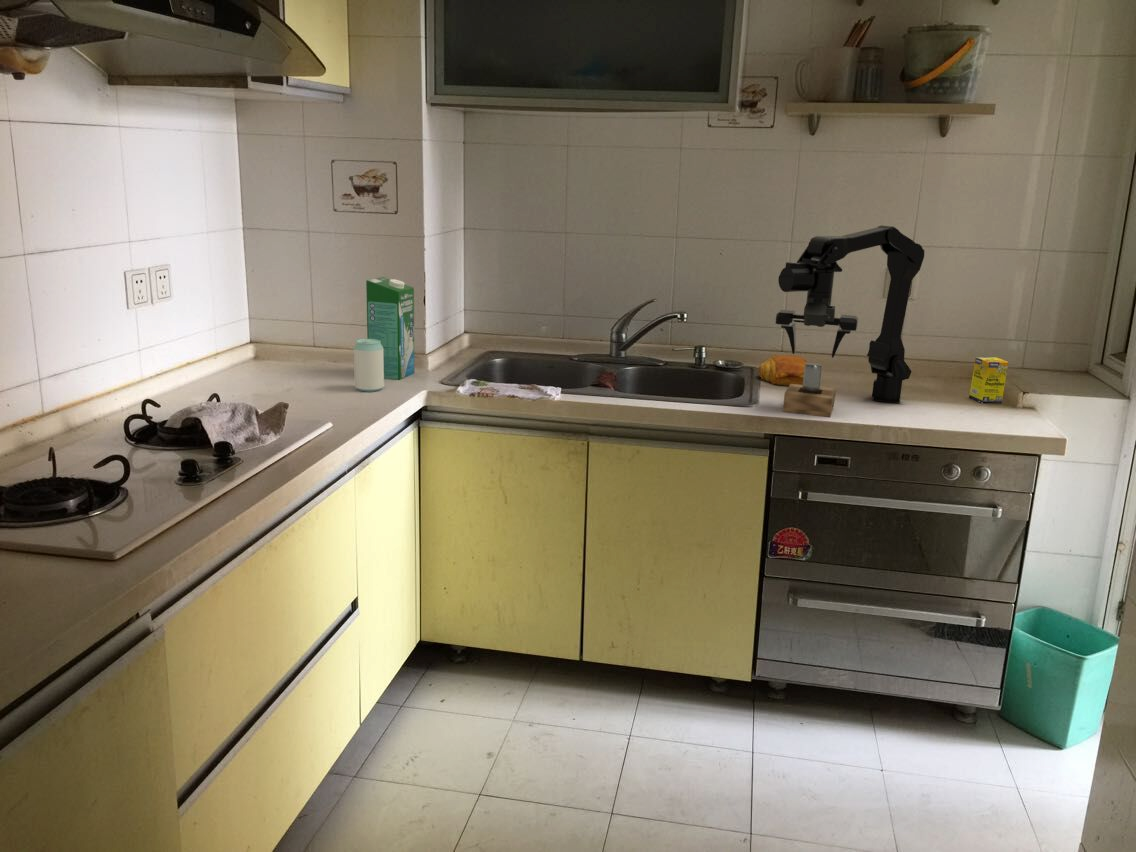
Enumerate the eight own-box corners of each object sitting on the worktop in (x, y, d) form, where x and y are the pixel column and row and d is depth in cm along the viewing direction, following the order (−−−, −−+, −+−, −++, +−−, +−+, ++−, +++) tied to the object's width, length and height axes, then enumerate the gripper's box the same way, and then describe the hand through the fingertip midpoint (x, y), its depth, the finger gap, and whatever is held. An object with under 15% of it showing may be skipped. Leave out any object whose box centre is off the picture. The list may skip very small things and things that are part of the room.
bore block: (833, 406, 236) (835, 388, 235) (829, 417, 226) (832, 398, 225) (788, 401, 239) (790, 383, 238) (782, 411, 229) (784, 393, 228)
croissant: (758, 381, 270) (757, 353, 268) (815, 377, 267) (814, 349, 265) (759, 391, 256) (758, 362, 254) (819, 388, 253) (818, 358, 252)
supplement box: (981, 403, 245) (988, 361, 242) (968, 397, 250) (974, 356, 247) (1002, 403, 246) (1009, 361, 243) (989, 397, 251) (995, 356, 248)
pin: (818, 403, 233) (822, 363, 231) (816, 407, 230) (821, 367, 227) (801, 402, 235) (806, 362, 232) (799, 405, 231) (804, 365, 228)
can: (379, 393, 232) (379, 344, 229) (351, 391, 232) (350, 342, 229) (387, 386, 239) (386, 338, 235) (359, 384, 239) (358, 337, 236)
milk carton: (399, 380, 246) (398, 282, 239) (367, 376, 248) (365, 279, 241) (414, 372, 254) (414, 278, 247) (383, 369, 256) (382, 275, 249)
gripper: (775, 292, 222) (769, 358, 226) (859, 298, 216) (851, 365, 221) (781, 286, 232) (775, 349, 237) (861, 292, 227) (853, 356, 231)
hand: (813, 355), depth 231 cm, fingers open, 9 cm apart
